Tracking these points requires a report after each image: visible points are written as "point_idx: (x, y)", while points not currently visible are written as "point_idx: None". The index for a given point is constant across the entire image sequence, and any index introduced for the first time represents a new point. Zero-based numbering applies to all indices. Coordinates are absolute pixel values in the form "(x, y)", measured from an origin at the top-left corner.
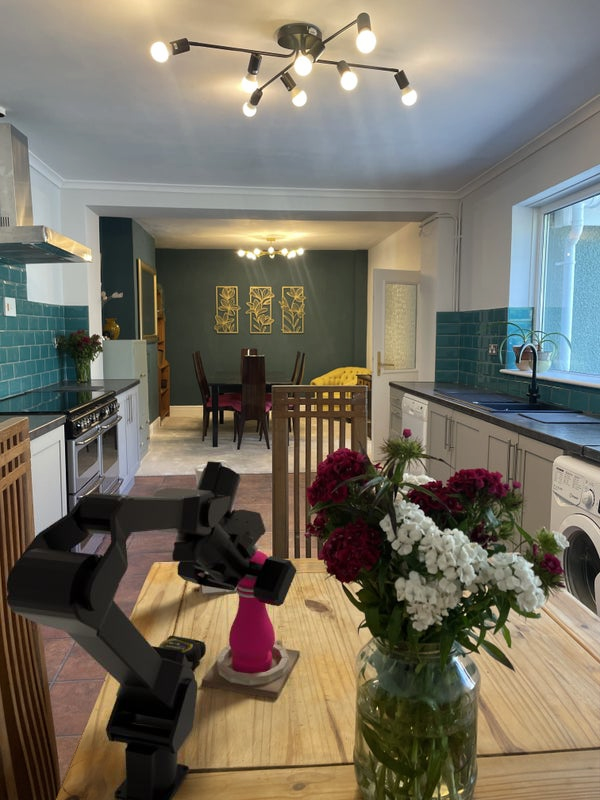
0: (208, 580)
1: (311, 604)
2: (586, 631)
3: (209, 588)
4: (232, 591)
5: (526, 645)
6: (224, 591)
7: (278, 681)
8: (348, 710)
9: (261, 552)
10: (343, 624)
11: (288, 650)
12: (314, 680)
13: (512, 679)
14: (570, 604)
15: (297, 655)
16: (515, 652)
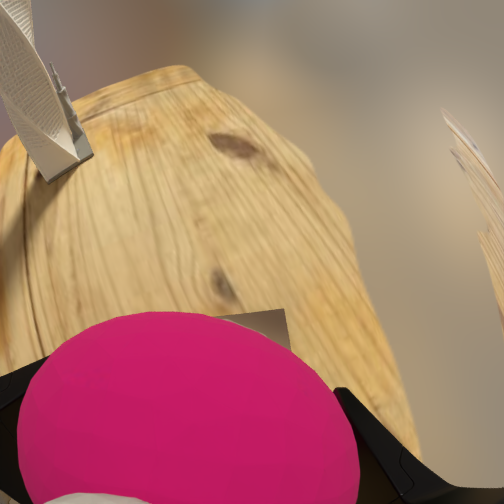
0: (25, 493)
1: (223, 143)
2: (479, 154)
3: (52, 170)
4: (86, 157)
5: (473, 183)
6: (75, 163)
7: None
8: (409, 411)
9: (255, 458)
10: (302, 182)
11: (261, 316)
12: (339, 371)
13: (493, 247)
14: (450, 116)
15: (286, 325)
16: (475, 197)
